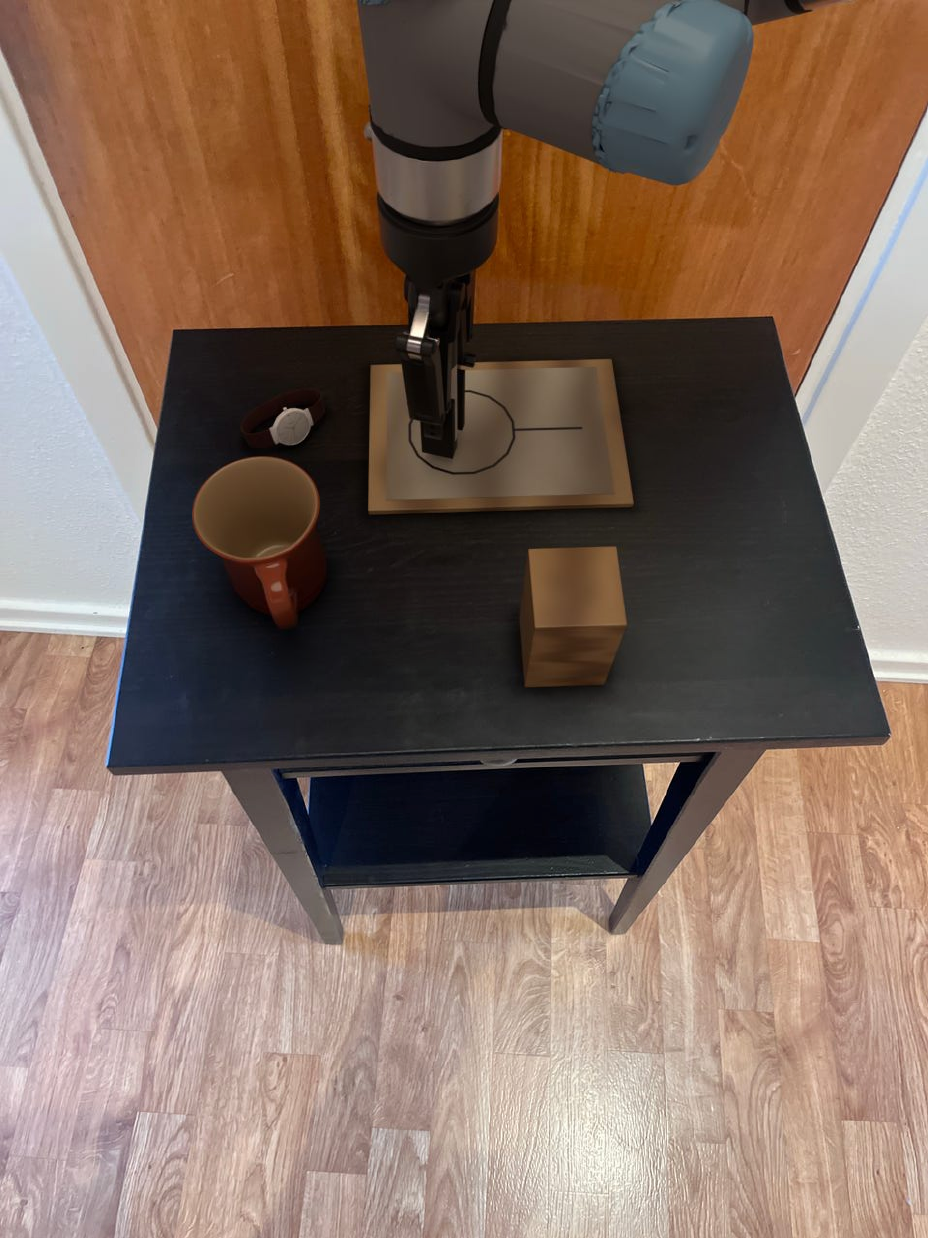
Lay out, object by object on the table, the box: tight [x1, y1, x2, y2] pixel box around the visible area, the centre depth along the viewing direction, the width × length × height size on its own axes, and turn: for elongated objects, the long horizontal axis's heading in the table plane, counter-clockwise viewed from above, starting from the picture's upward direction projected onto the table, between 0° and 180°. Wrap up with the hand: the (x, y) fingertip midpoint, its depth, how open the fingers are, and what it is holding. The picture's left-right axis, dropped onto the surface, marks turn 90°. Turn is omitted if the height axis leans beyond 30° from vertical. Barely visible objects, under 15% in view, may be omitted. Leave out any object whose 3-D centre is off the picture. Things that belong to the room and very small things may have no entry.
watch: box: [239, 387, 326, 449], centre depth 74 cm, size 8×5×4 cm, turn 126°
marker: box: [451, 337, 458, 450], centre depth 68 cm, size 2×2×13 cm
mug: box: [191, 455, 327, 630], centre depth 63 cm, size 12×9×10 cm
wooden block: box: [518, 546, 628, 688], centre depth 61 cm, size 6×6×10 cm
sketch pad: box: [367, 358, 634, 516], centre depth 75 cm, size 22×16×1 cm
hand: (443, 437), depth 73 cm, fingers closed on marker, 2 cm apart
